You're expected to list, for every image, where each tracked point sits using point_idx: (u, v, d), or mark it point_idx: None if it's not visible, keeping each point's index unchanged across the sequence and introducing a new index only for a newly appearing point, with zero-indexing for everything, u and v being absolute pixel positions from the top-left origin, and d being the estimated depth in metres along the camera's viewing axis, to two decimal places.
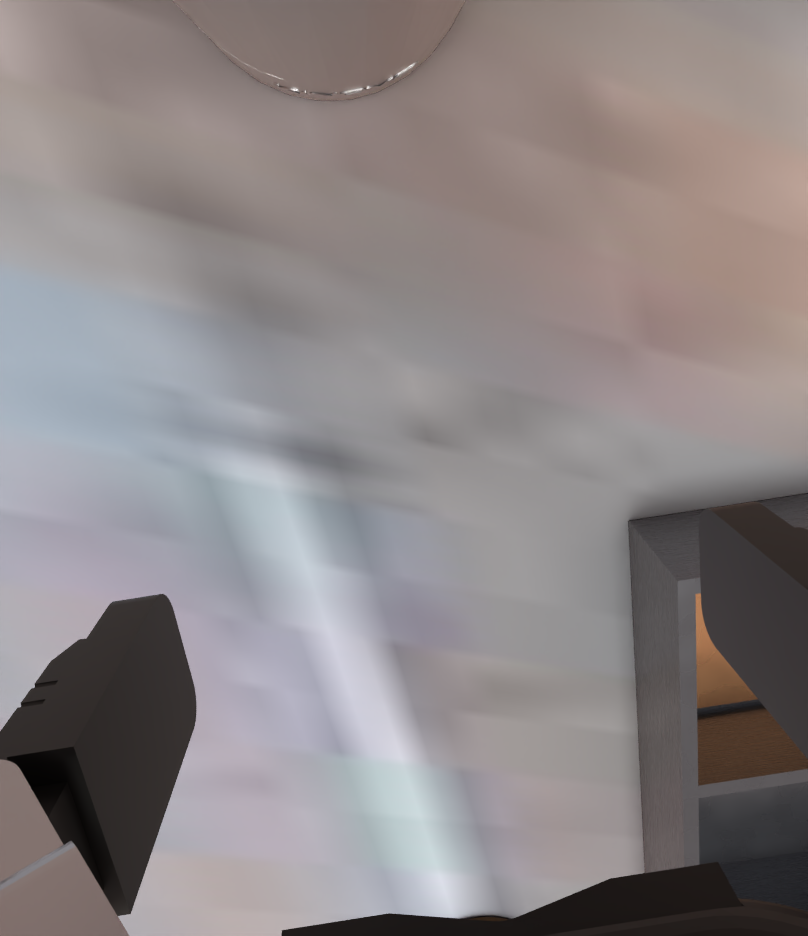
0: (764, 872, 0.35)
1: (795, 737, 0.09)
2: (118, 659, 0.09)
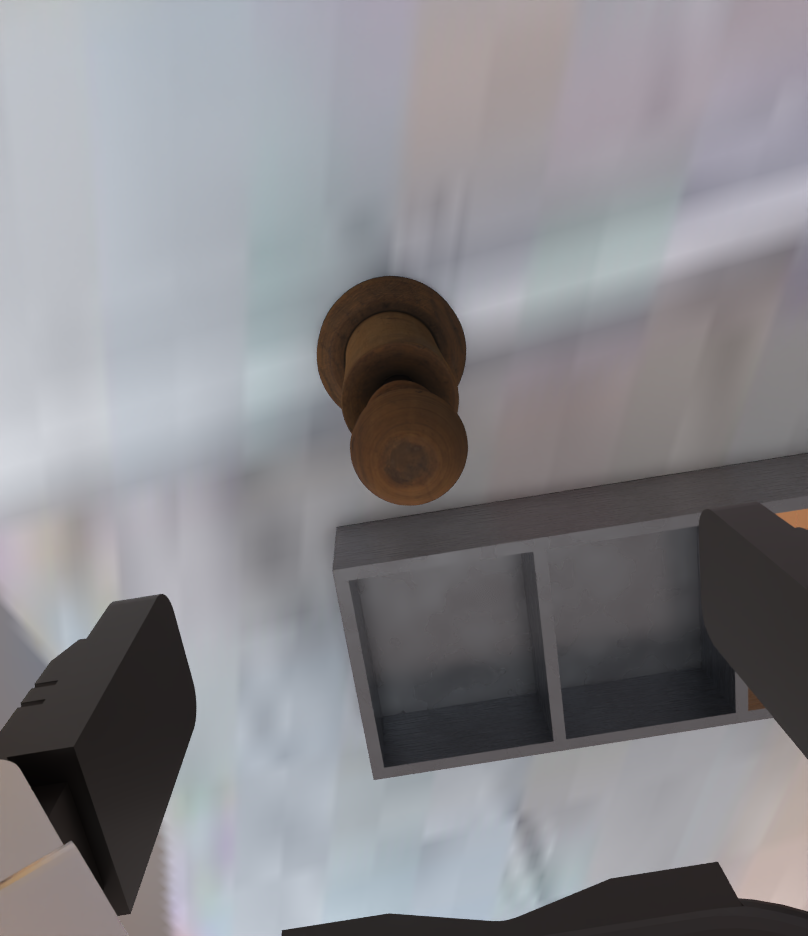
0: None
1: (794, 736, 0.09)
2: (118, 659, 0.09)
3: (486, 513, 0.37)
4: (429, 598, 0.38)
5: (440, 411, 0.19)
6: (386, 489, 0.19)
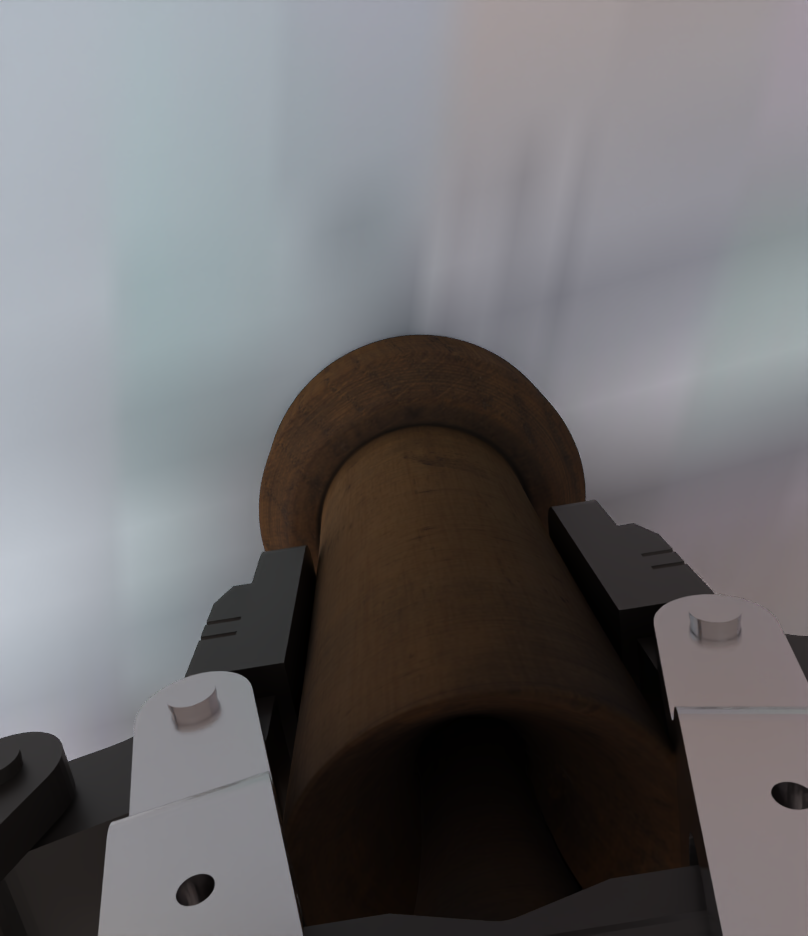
0: None
1: None
2: (292, 595, 0.10)
3: None
4: None
5: None
6: None
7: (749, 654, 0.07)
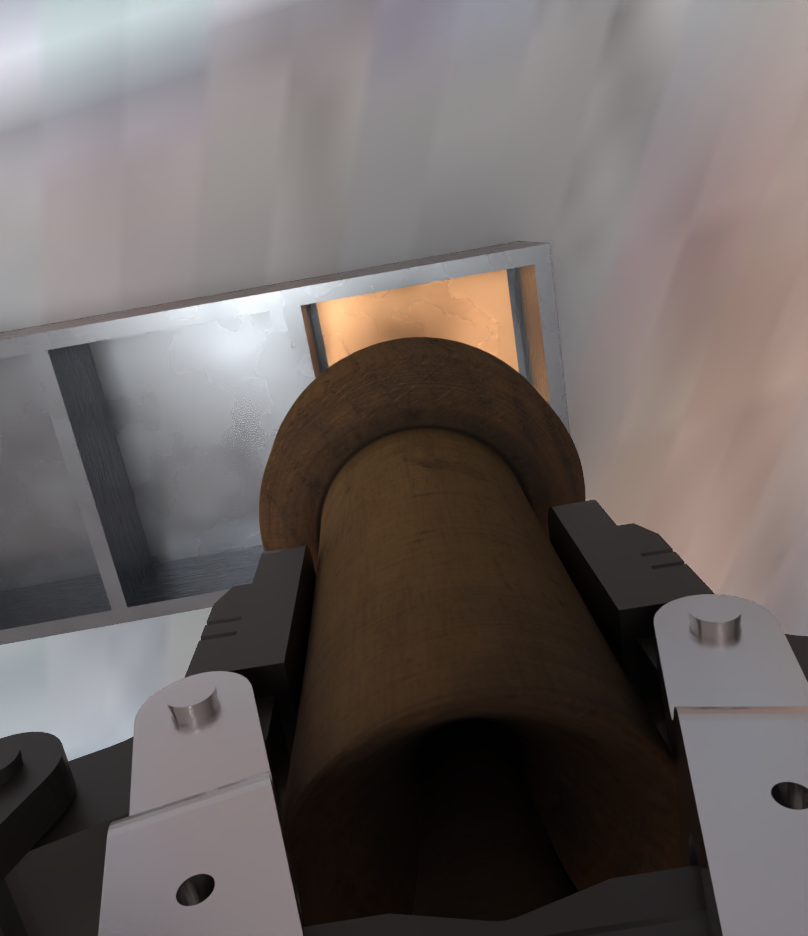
0: (111, 443, 0.31)
1: None
2: (292, 595, 0.10)
3: (28, 329, 0.30)
4: None
5: None
6: None
7: (749, 654, 0.07)
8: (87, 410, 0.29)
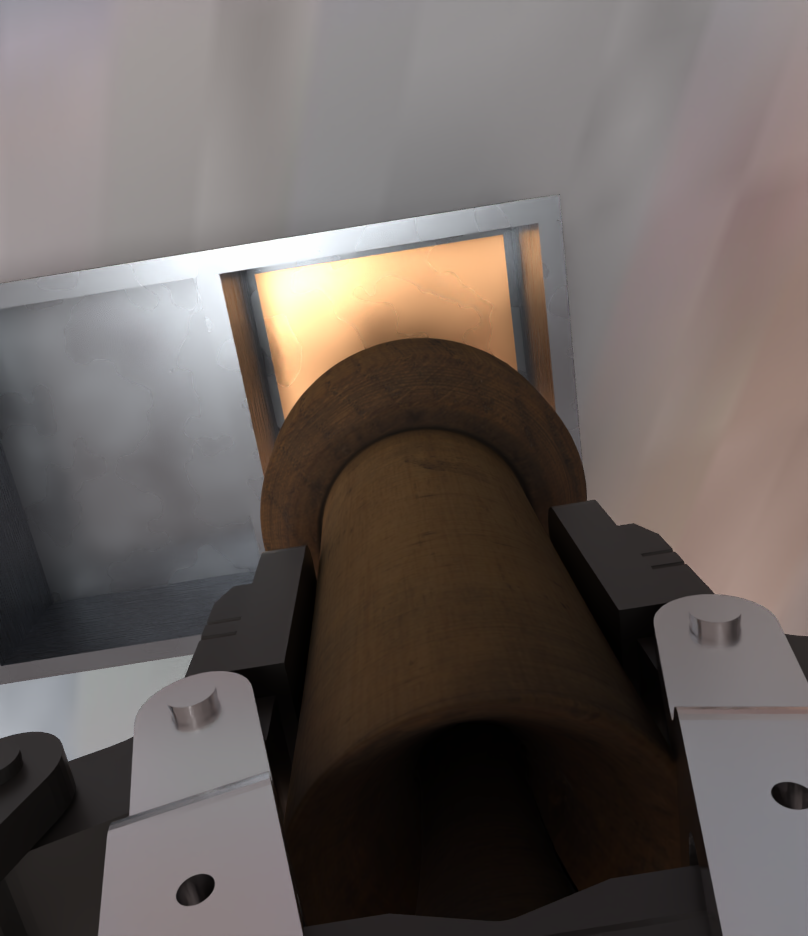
0: None
1: None
2: (292, 596, 0.10)
3: None
4: None
5: None
6: None
7: (749, 654, 0.07)
8: None
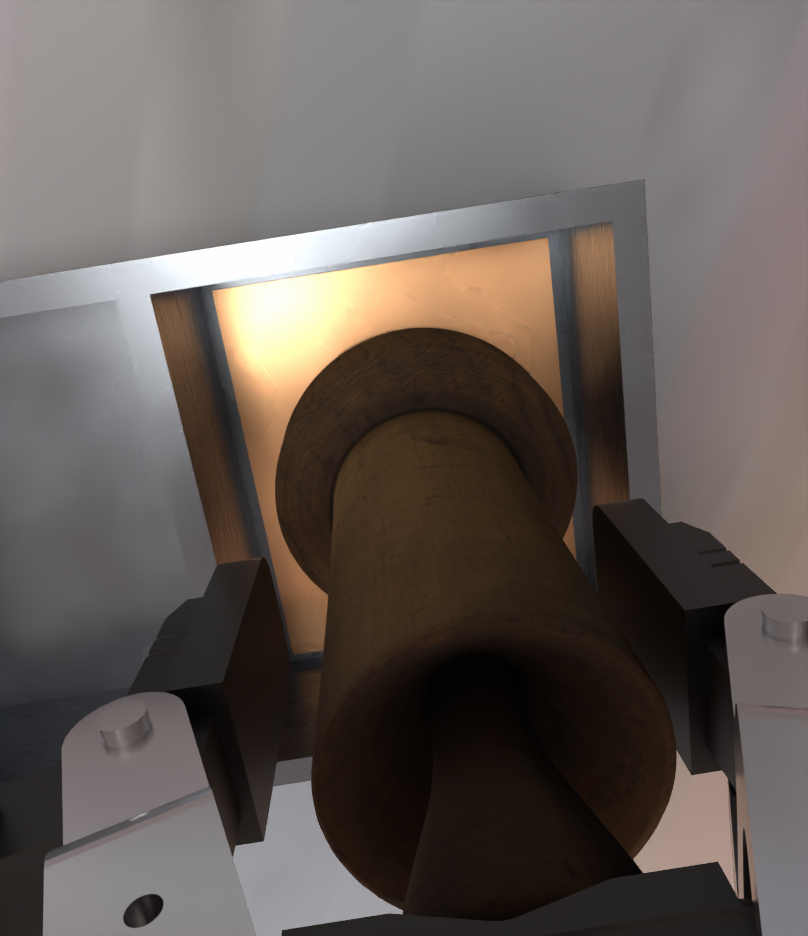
0: None
1: None
2: (241, 611, 0.10)
3: None
4: None
5: None
6: None
7: None
8: None
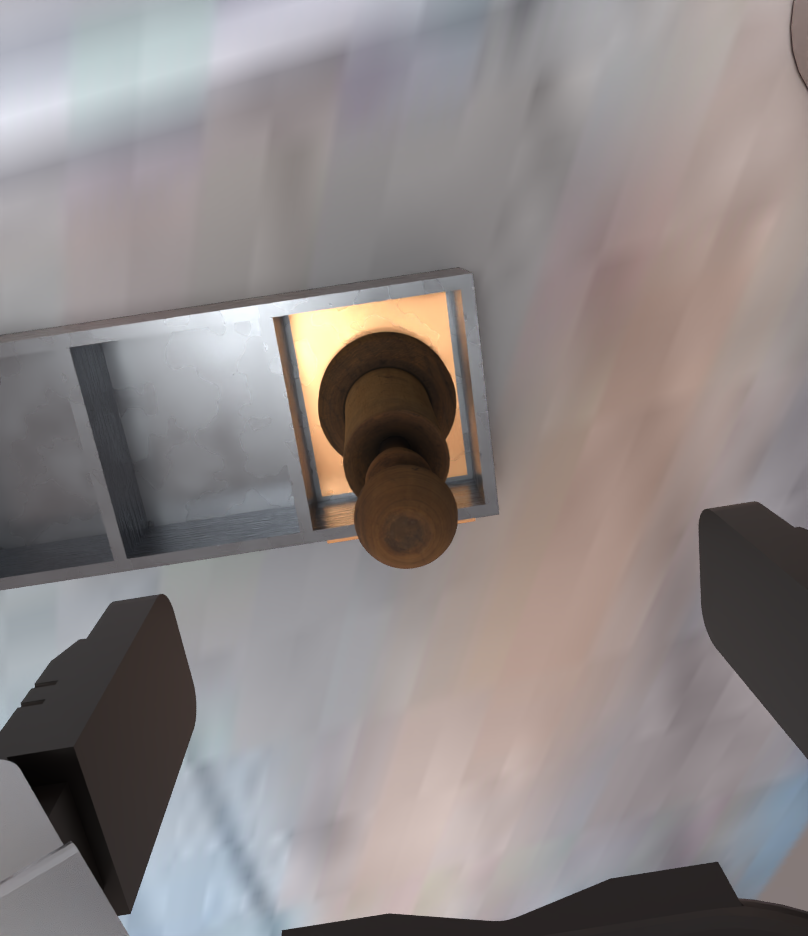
0: (116, 425, 0.37)
1: (796, 737, 0.09)
2: (118, 659, 0.09)
3: (51, 329, 0.36)
4: (8, 423, 0.38)
5: (434, 488, 0.21)
6: (385, 556, 0.21)
7: None
8: (99, 396, 0.35)
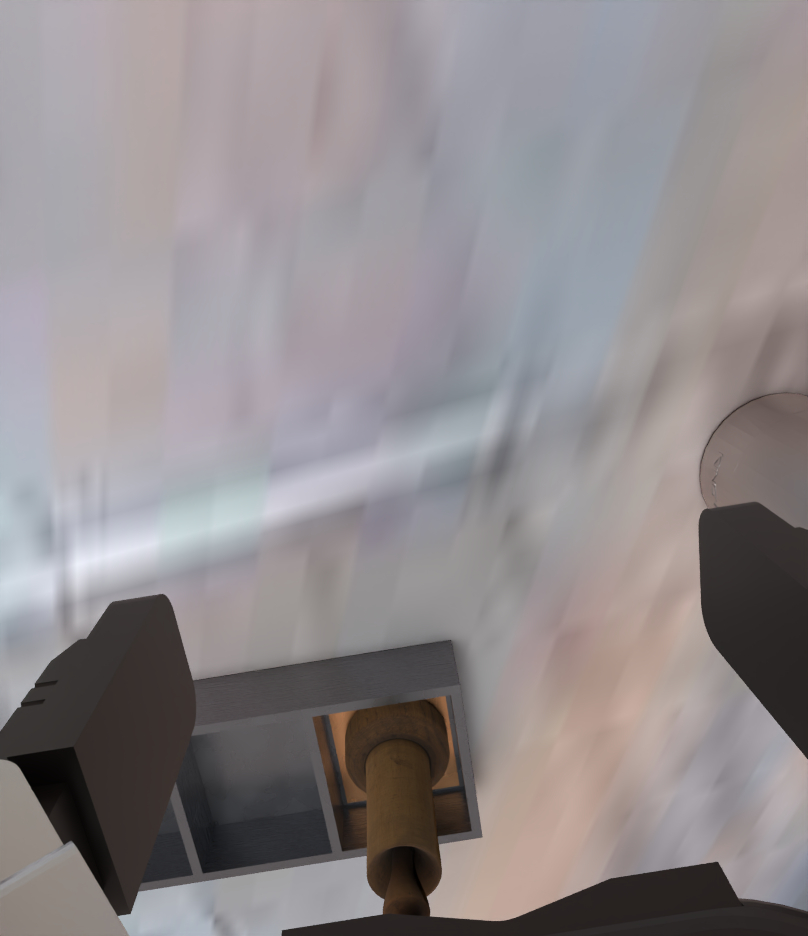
0: (192, 763, 0.49)
1: (796, 737, 0.09)
2: (118, 659, 0.09)
3: None
4: None
5: None
6: None
7: None
8: None
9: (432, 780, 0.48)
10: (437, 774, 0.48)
